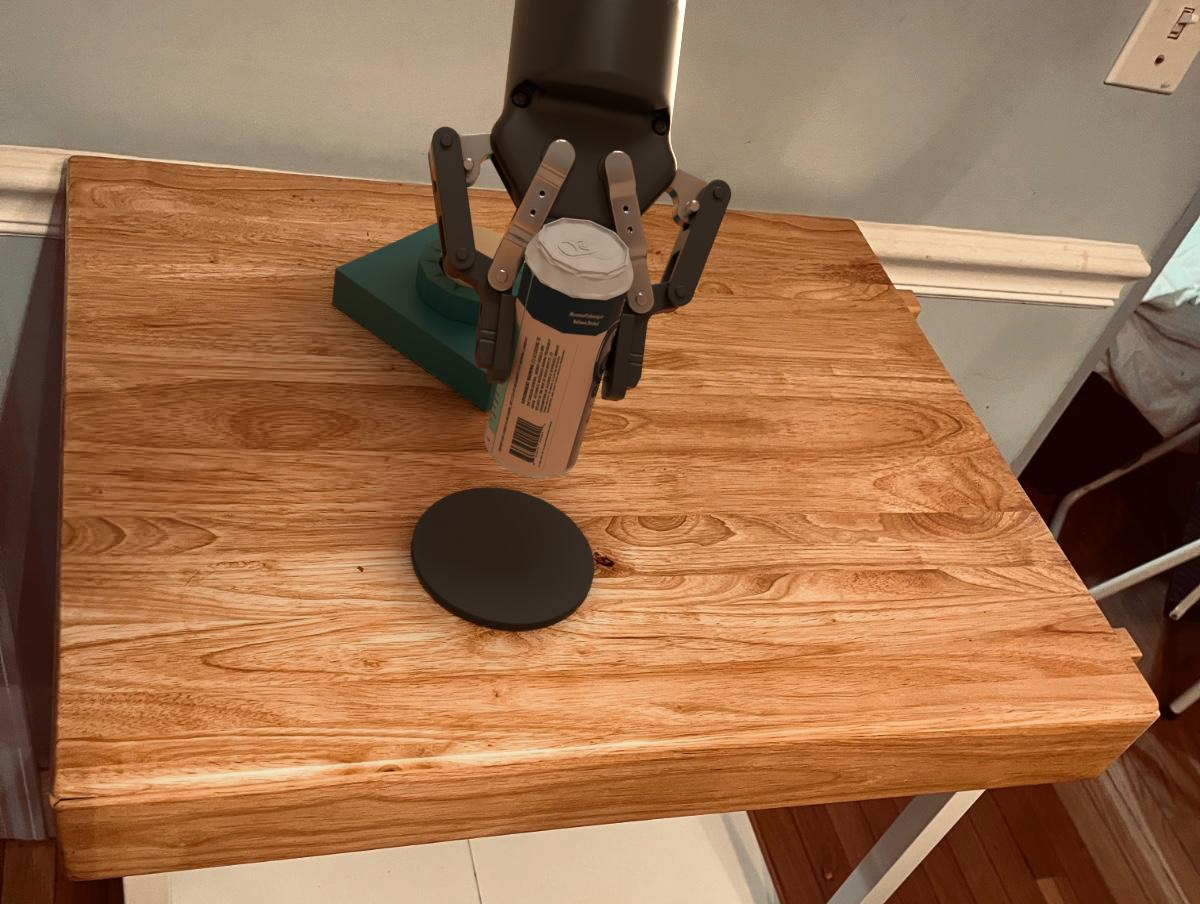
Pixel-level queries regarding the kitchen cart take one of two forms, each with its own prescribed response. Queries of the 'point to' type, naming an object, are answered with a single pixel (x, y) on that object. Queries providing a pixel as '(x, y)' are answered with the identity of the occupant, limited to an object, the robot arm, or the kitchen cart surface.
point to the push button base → (419, 310)
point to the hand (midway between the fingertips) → (556, 388)
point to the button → (482, 246)
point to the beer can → (558, 346)
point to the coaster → (502, 558)
